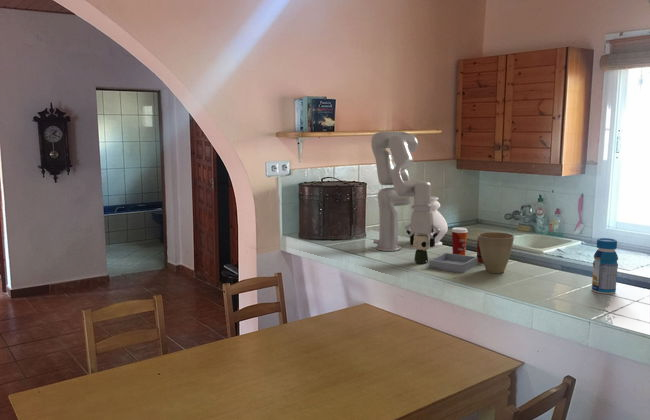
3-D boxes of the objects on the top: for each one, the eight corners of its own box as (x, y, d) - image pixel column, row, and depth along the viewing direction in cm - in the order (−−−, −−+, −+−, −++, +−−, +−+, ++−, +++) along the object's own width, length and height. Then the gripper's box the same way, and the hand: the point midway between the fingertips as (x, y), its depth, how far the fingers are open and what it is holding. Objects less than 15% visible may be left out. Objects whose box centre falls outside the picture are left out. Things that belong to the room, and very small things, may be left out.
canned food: (475, 261, 258) (475, 238, 256) (478, 258, 265) (479, 235, 263) (491, 263, 254) (492, 240, 253) (495, 259, 261) (496, 236, 260)
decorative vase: (453, 243, 298) (455, 197, 294) (433, 248, 286) (434, 200, 282) (427, 239, 311) (428, 194, 307) (406, 243, 299) (407, 197, 295)
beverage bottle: (608, 296, 204) (612, 242, 202) (586, 290, 211) (590, 239, 208) (620, 292, 209) (624, 240, 206) (598, 287, 216) (601, 236, 213)
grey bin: (428, 267, 247) (429, 260, 247) (445, 260, 261) (445, 252, 261) (462, 273, 238) (462, 265, 238) (477, 264, 252) (477, 257, 252)
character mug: (419, 266, 251) (419, 237, 249) (407, 263, 256) (407, 235, 254) (434, 262, 258) (435, 234, 256) (423, 259, 263) (423, 232, 261)
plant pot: (498, 265, 250) (500, 231, 248) (519, 273, 236) (521, 237, 234) (469, 268, 246) (471, 233, 243) (489, 277, 232) (491, 239, 229)
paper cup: (463, 259, 262) (463, 230, 260) (447, 257, 266) (448, 228, 264) (469, 256, 268) (470, 228, 266) (454, 254, 272) (455, 226, 270)
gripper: (401, 208, 255) (401, 245, 257) (436, 210, 245) (436, 249, 247) (409, 206, 261) (409, 242, 263) (443, 209, 251) (443, 246, 253)
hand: (422, 245), depth 255 cm, fingers open, 9 cm apart
